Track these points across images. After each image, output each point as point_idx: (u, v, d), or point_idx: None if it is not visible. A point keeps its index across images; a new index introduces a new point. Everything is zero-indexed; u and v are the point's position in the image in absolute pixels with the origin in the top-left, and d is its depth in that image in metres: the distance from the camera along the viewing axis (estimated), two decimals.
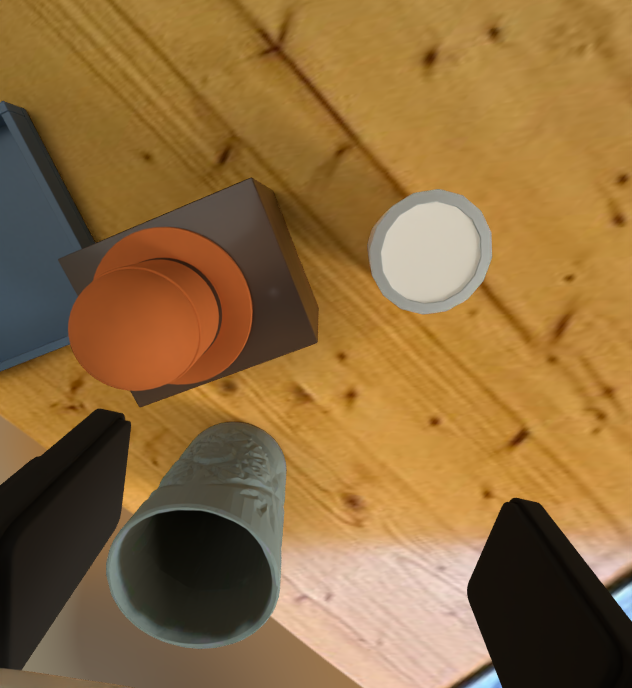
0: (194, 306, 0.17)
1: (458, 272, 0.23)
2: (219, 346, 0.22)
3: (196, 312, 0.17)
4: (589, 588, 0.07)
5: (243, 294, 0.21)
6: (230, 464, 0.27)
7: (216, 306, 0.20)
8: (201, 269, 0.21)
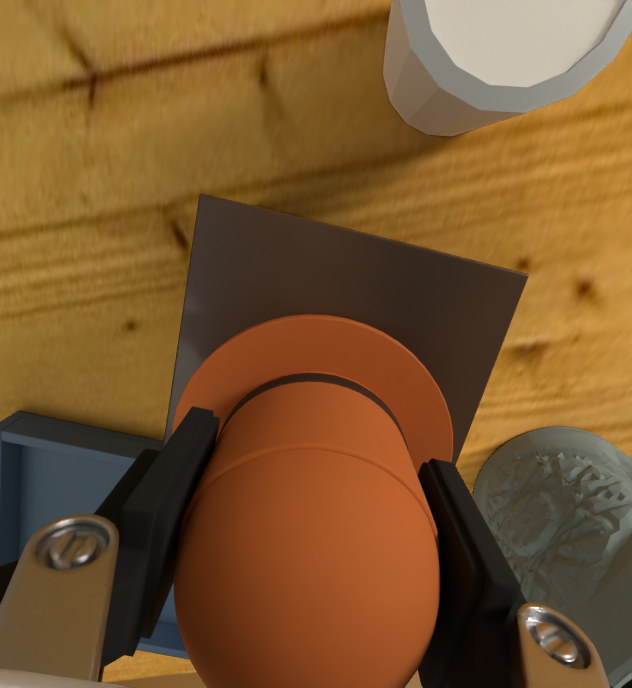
0: (336, 447, 0.08)
1: None
2: (412, 429, 0.12)
3: (350, 451, 0.08)
4: (472, 527, 0.08)
5: (364, 338, 0.11)
6: (571, 522, 0.16)
7: (355, 393, 0.10)
8: (284, 371, 0.11)
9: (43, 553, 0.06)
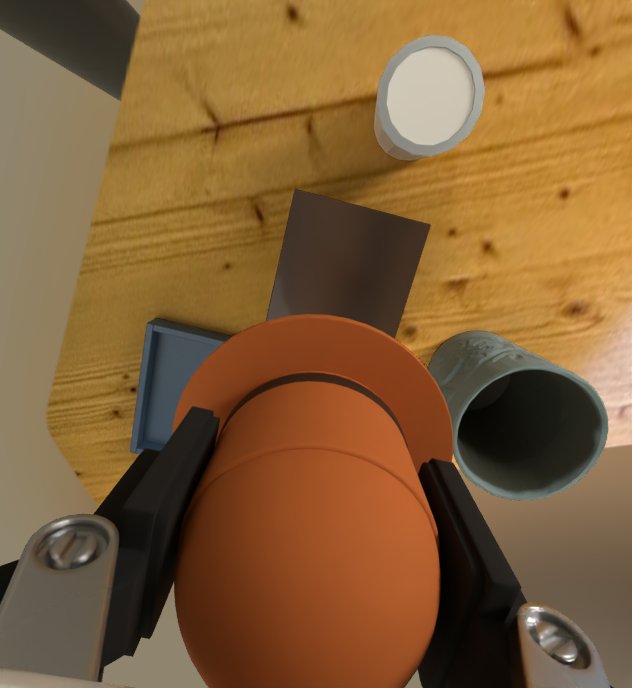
0: (337, 446, 0.08)
1: (459, 83, 0.26)
2: (412, 428, 0.12)
3: (350, 450, 0.08)
4: (472, 527, 0.08)
5: (365, 337, 0.11)
6: (467, 361, 0.31)
7: (355, 393, 0.10)
8: (284, 370, 0.11)
9: (43, 553, 0.06)
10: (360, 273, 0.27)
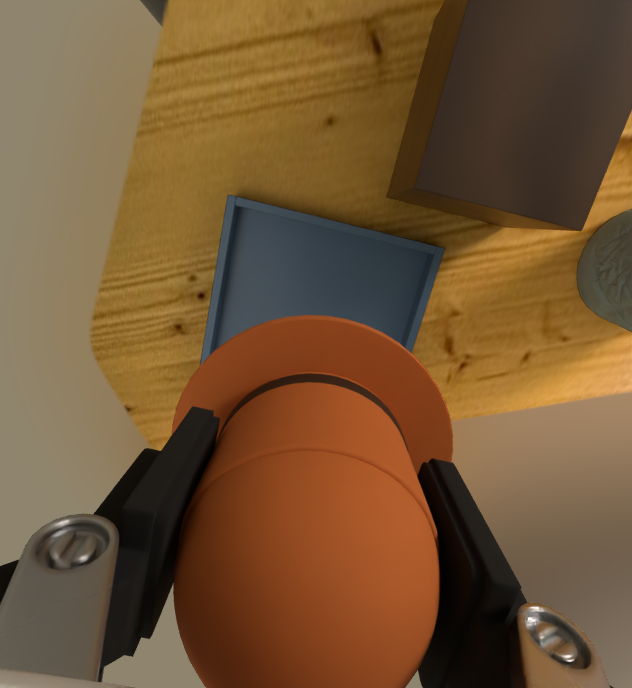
0: (336, 448, 0.08)
1: None
2: (412, 429, 0.12)
3: (349, 452, 0.08)
4: (472, 527, 0.08)
5: (364, 338, 0.11)
6: None
7: (355, 394, 0.10)
8: (284, 371, 0.11)
9: (43, 553, 0.06)
10: (572, 62, 0.19)
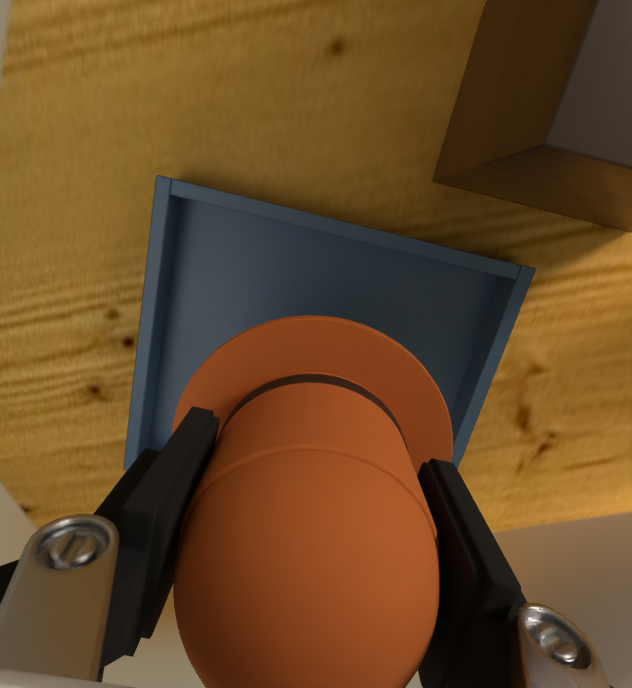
0: (336, 448, 0.08)
1: None
2: (412, 429, 0.12)
3: (349, 452, 0.08)
4: (472, 527, 0.08)
5: (364, 338, 0.11)
6: None
7: (355, 394, 0.10)
8: (284, 372, 0.11)
9: (43, 553, 0.06)
10: None
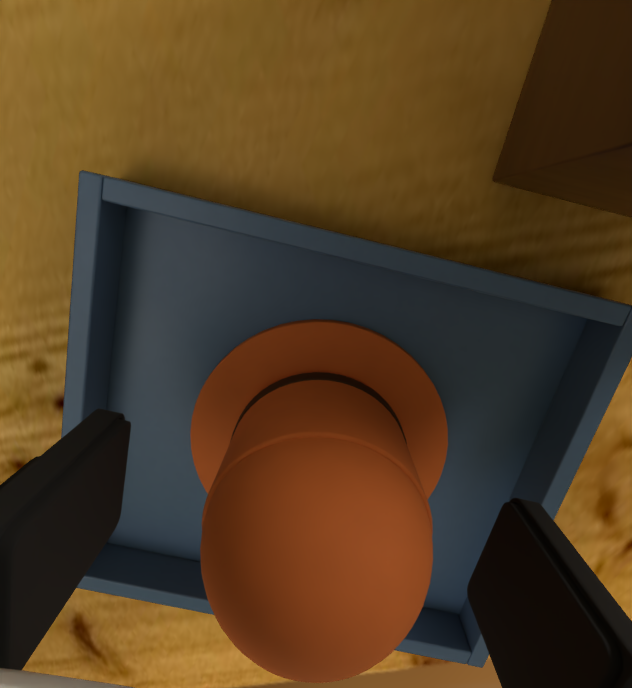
0: (342, 435, 0.09)
1: None
2: (411, 424, 0.13)
3: (353, 438, 0.09)
4: (589, 588, 0.07)
5: (367, 341, 0.12)
6: None
7: (358, 390, 0.12)
8: (293, 370, 0.13)
9: None
10: None
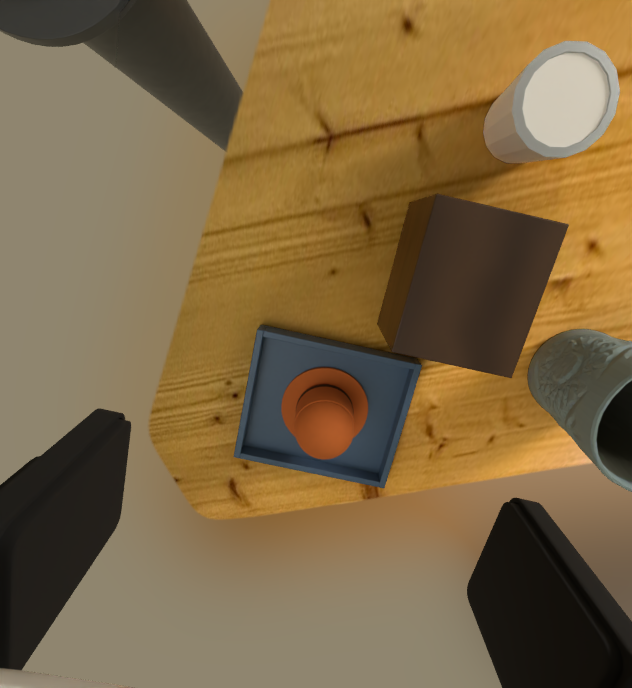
0: (330, 400, 0.35)
1: (594, 86, 0.26)
2: (355, 400, 0.39)
3: (333, 401, 0.35)
4: (589, 588, 0.07)
5: (339, 373, 0.39)
6: (588, 358, 0.32)
7: (336, 389, 0.38)
8: (316, 383, 0.39)
9: None
10: (496, 274, 0.28)
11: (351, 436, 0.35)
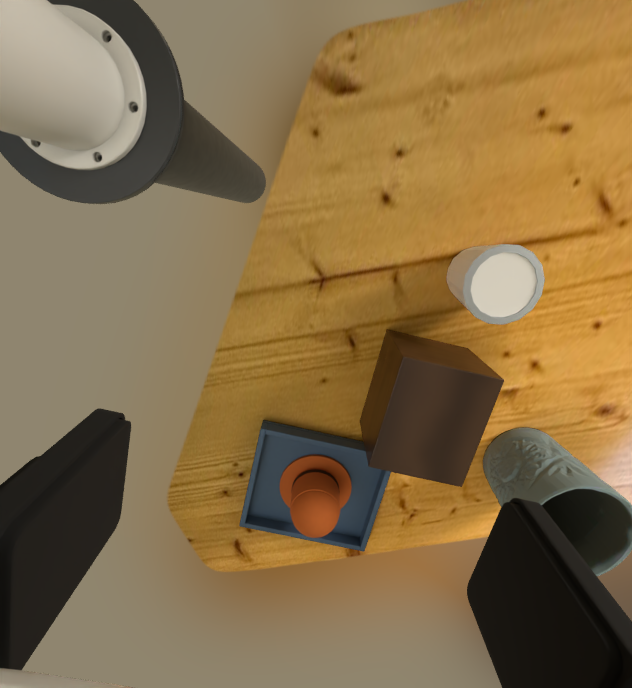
0: (320, 489, 0.43)
1: (525, 275, 0.34)
2: (340, 481, 0.47)
3: (322, 490, 0.43)
4: (589, 588, 0.07)
5: (328, 460, 0.47)
6: (524, 466, 0.40)
7: (325, 475, 0.46)
8: (308, 467, 0.47)
9: None
10: (449, 413, 0.36)
11: (336, 520, 0.43)
